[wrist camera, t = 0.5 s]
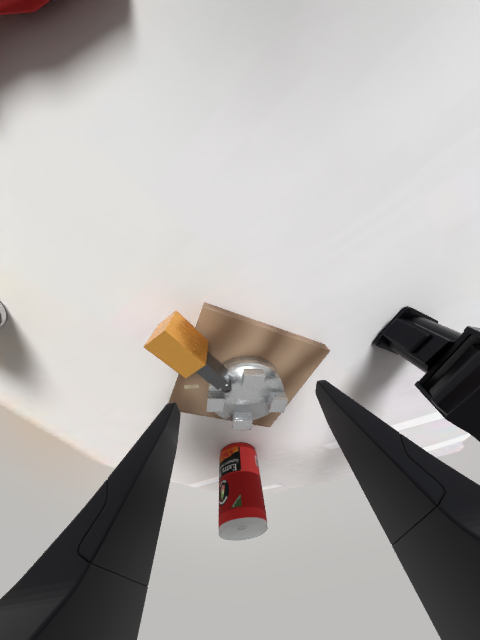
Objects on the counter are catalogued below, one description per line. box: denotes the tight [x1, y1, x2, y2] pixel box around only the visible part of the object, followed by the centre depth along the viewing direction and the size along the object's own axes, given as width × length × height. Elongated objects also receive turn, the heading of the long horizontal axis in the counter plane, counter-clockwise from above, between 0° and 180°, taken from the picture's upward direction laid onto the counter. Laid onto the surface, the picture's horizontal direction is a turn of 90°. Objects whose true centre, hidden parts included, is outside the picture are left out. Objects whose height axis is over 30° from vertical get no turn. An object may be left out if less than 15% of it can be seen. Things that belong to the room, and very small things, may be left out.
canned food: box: [219, 443, 268, 540], centre depth 31 cm, size 8×8×11 cm
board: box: [169, 302, 330, 427], centre depth 25 cm, size 18×18×2 cm
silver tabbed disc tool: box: [144, 311, 288, 430], centre depth 20 cm, size 19×10×5 cm, turn 37°
